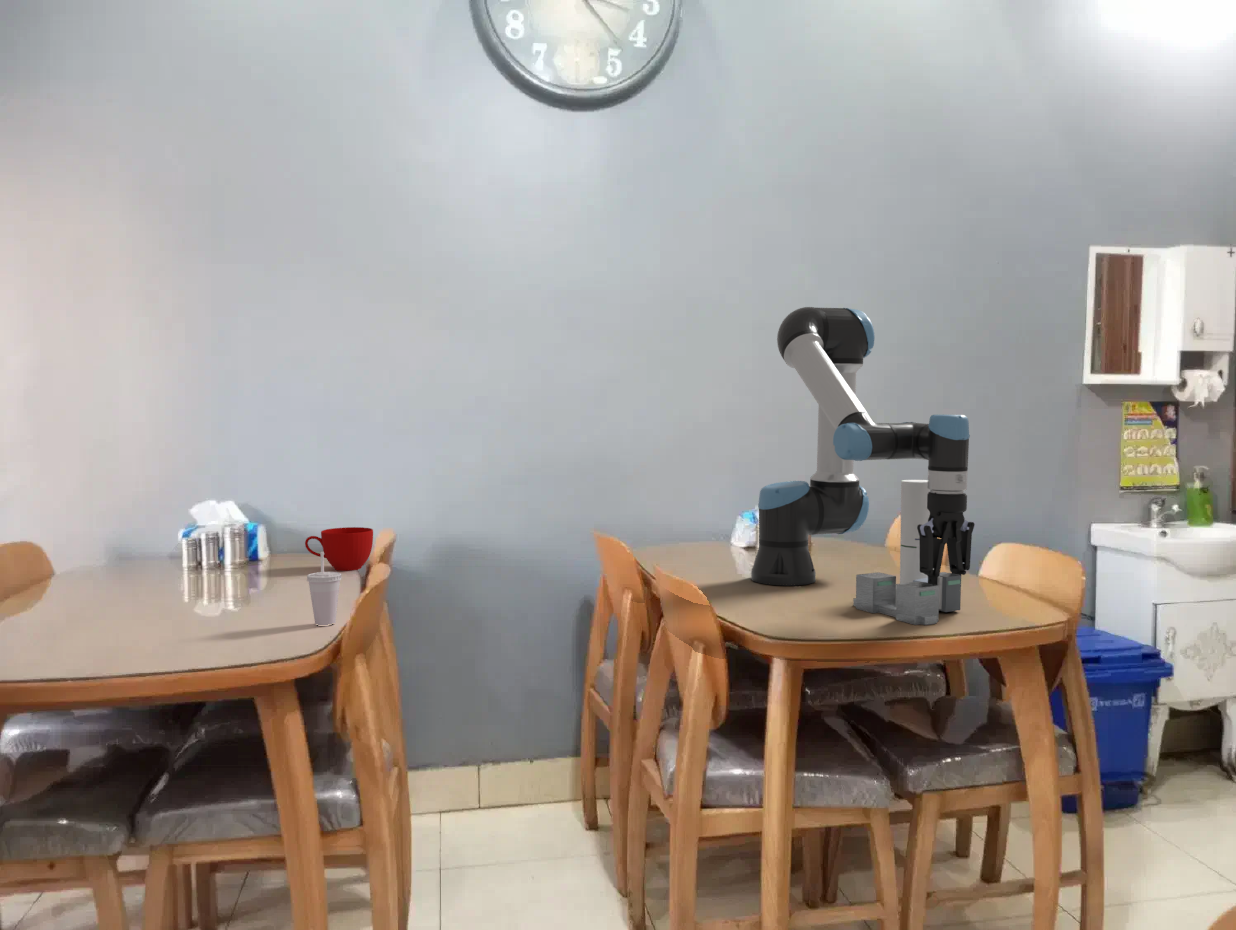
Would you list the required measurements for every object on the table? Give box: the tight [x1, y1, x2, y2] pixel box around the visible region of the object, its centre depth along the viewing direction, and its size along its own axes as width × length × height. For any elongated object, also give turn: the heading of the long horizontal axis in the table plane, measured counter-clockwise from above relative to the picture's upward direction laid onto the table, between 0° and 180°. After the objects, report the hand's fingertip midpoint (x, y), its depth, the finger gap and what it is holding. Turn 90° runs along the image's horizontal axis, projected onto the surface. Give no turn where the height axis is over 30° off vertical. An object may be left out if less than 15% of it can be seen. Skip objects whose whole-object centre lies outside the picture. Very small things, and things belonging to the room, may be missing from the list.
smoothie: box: [306, 551, 342, 625], centre depth 179 cm, size 6×6×14 cm
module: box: [939, 571, 962, 613], centre depth 188 cm, size 5×4×7 cm
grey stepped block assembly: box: [852, 571, 939, 626], centre depth 186 cm, size 20×6×7 cm, turn 27°
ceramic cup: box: [304, 526, 374, 572], centre depth 241 cm, size 13×17×10 cm
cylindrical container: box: [899, 479, 934, 584], centre depth 205 cm, size 7×7×25 cm
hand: (943, 606), depth 189 cm, fingers closed on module, 4 cm apart
